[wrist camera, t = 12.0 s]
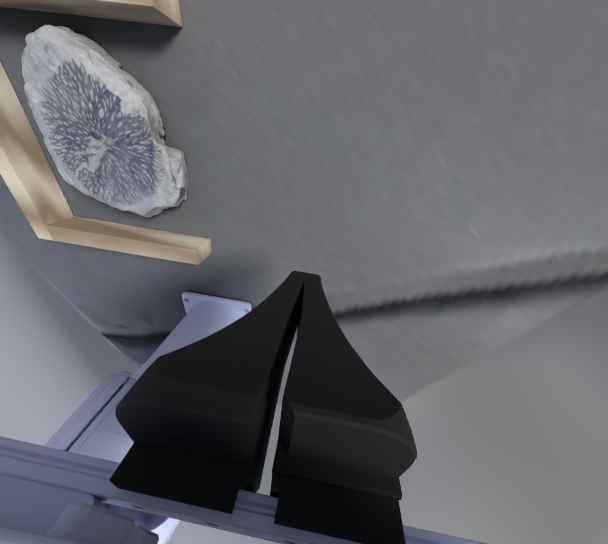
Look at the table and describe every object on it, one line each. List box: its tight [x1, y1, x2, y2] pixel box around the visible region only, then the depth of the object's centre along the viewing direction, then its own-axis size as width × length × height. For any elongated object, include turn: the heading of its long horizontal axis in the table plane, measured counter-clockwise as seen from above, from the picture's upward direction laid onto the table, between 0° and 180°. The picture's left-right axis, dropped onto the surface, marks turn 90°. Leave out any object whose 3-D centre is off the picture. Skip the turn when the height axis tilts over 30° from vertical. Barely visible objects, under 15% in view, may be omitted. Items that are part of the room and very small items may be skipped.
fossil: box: [21, 25, 187, 218], centre depth 16 cm, size 11×4×10 cm
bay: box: [0, 0, 212, 265], centre depth 16 cm, size 17×16×2 cm
